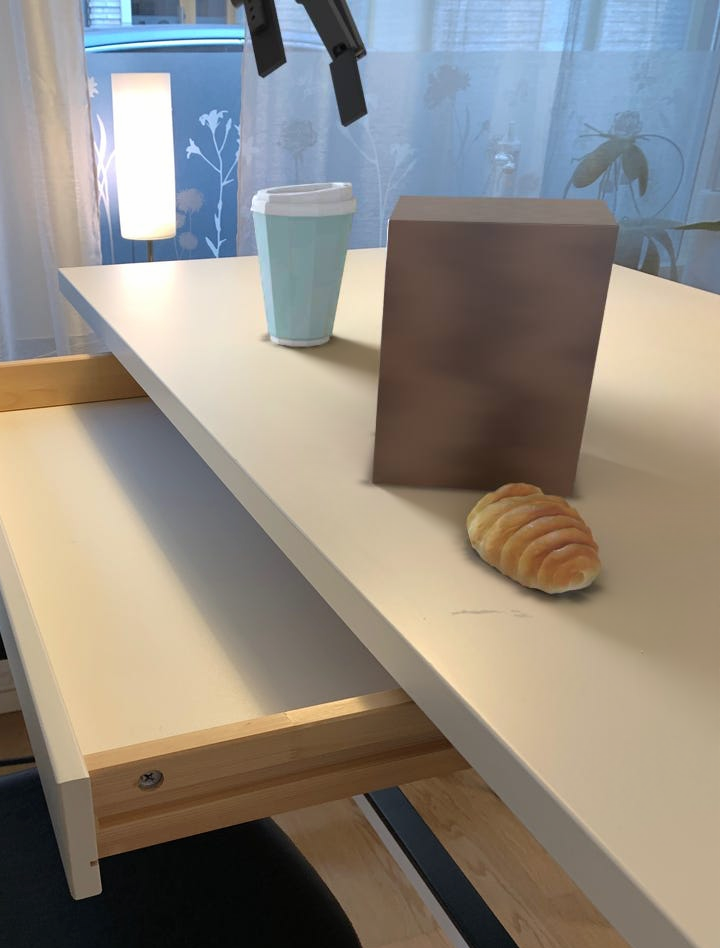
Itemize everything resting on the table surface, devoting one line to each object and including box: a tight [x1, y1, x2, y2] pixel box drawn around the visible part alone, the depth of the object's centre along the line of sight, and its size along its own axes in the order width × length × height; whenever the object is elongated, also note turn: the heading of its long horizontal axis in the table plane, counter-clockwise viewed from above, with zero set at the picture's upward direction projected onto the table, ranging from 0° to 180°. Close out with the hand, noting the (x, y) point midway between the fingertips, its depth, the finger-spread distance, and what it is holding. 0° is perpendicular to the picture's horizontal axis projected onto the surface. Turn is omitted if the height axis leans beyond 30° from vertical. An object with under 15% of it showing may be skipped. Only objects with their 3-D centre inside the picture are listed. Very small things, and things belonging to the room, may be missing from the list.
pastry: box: [466, 483, 603, 595], centre depth 62 cm, size 9×7×4 cm
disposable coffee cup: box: [250, 182, 358, 348], centre depth 103 cm, size 11×11×15 cm
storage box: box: [371, 195, 620, 498], centre depth 78 cm, size 14×24×18 cm, turn 168°
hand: (315, 95), depth 96 cm, fingers open, 13 cm apart
